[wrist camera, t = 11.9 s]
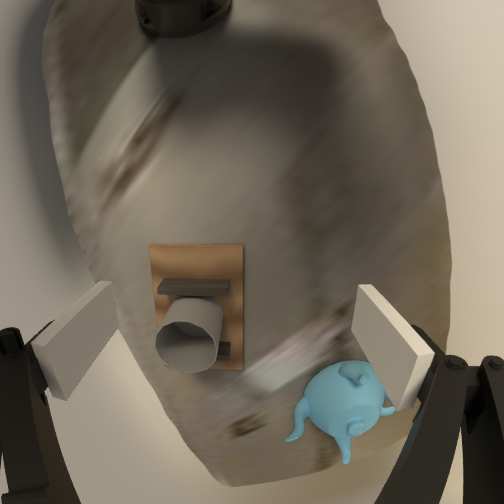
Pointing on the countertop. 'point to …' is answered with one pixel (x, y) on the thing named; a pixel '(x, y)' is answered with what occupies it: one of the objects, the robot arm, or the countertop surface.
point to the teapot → (342, 403)
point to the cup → (190, 333)
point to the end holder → (203, 288)
